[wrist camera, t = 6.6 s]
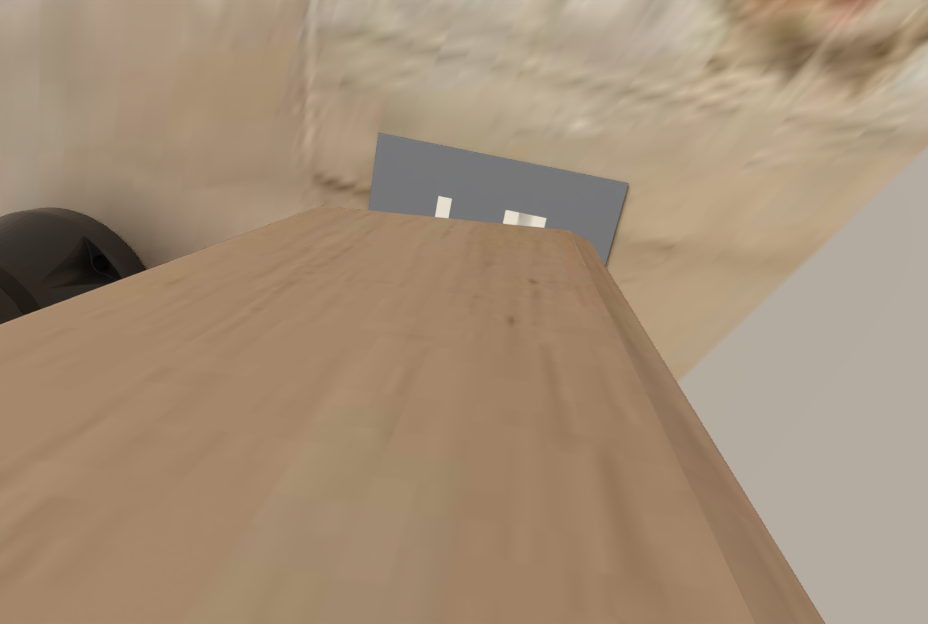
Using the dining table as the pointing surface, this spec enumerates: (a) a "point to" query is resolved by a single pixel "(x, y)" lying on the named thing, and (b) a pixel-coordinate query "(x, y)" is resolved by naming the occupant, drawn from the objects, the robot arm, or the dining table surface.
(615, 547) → the wooden block
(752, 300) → the dining table surface
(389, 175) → the mat
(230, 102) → the dining table surface
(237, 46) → the dining table surface
